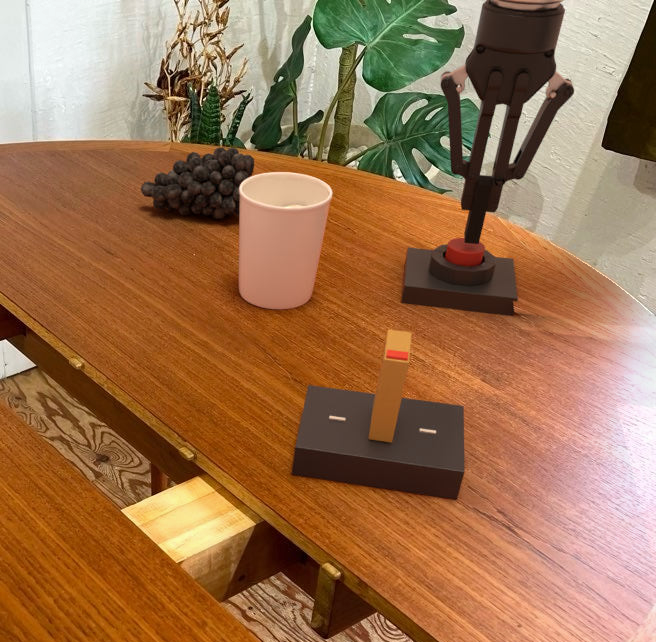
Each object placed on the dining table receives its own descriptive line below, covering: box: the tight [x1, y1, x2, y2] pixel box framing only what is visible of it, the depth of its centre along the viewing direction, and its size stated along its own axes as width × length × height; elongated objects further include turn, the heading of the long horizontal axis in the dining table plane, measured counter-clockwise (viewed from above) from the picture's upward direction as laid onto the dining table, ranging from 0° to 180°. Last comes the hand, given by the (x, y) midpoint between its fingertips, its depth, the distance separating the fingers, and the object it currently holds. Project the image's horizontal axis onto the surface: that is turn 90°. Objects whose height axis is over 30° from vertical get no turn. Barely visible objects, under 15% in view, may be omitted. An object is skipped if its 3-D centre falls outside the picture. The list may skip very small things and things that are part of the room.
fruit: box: [140, 147, 255, 220], centre depth 124 cm, size 9×8×15 cm
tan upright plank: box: [369, 329, 413, 443], centre depth 81 cm, size 5×2×8 cm, turn 166°
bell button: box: [445, 237, 486, 266], centre depth 107 cm, size 4×4×2 cm
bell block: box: [400, 243, 519, 317], centre depth 109 cm, size 12×10×4 cm
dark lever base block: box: [291, 384, 466, 500], centre depth 85 cm, size 14×10×3 cm
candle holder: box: [238, 171, 333, 310], centre depth 105 cm, size 10×10×12 cm
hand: (471, 238), depth 106 cm, fingers closed
